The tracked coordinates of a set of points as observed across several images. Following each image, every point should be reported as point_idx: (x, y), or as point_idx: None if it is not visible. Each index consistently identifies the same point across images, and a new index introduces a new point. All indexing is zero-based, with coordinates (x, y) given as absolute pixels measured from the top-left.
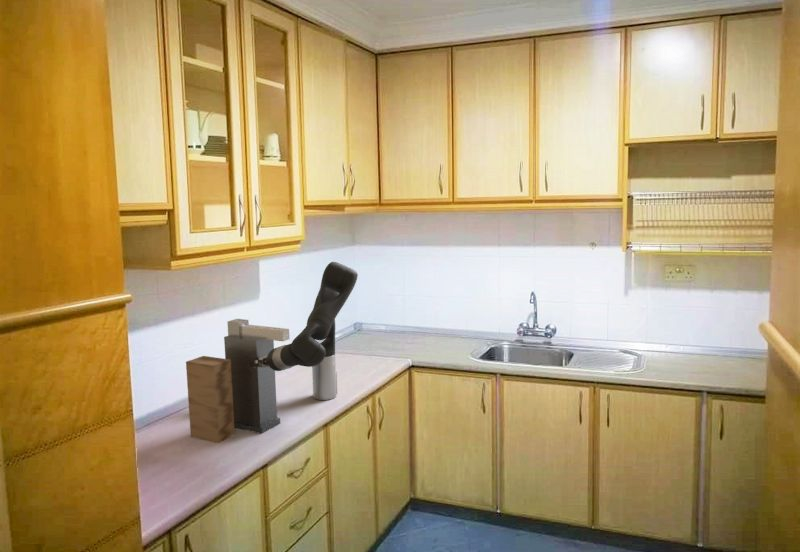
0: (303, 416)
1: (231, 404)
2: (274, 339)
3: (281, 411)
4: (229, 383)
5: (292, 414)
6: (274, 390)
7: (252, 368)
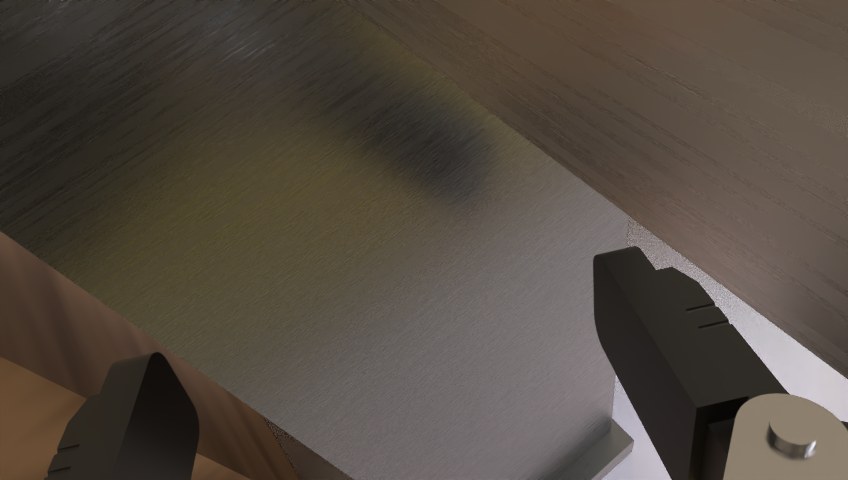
0: (814, 379)
1: (204, 477)
2: (786, 214)
3: (658, 243)
4: (61, 431)
5: (730, 315)
6: (603, 359)
7: (197, 443)
